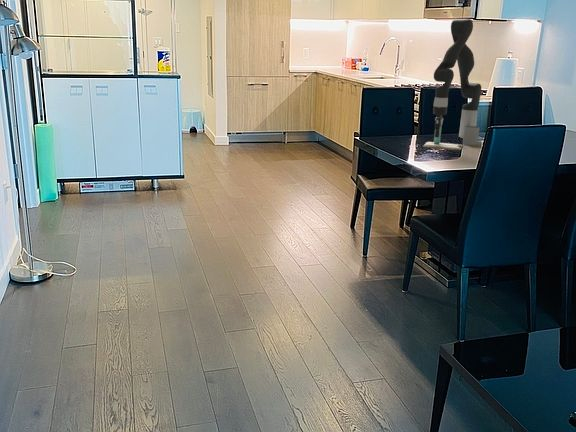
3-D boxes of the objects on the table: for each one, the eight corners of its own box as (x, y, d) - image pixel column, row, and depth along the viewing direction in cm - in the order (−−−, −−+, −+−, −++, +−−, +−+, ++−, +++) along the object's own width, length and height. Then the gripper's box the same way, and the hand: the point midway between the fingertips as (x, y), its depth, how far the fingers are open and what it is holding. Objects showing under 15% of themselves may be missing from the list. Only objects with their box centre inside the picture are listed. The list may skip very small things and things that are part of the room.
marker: (433, 142, 321) (436, 121, 318) (440, 143, 320) (442, 121, 317) (433, 143, 318) (435, 121, 315) (439, 144, 317) (441, 122, 313)
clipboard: (426, 143, 326) (427, 140, 326) (462, 146, 319) (463, 143, 319) (423, 147, 314) (423, 143, 313) (460, 150, 307) (460, 147, 306)
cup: (461, 144, 326) (463, 127, 323) (463, 142, 333) (465, 125, 330) (476, 145, 322) (478, 128, 320) (478, 143, 330) (480, 126, 327)
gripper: (435, 104, 321) (432, 134, 326) (431, 106, 308) (428, 137, 313) (449, 105, 318) (445, 135, 323) (445, 107, 305) (442, 139, 311)
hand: (437, 136), depth 318 cm, fingers closed on marker, 3 cm apart
